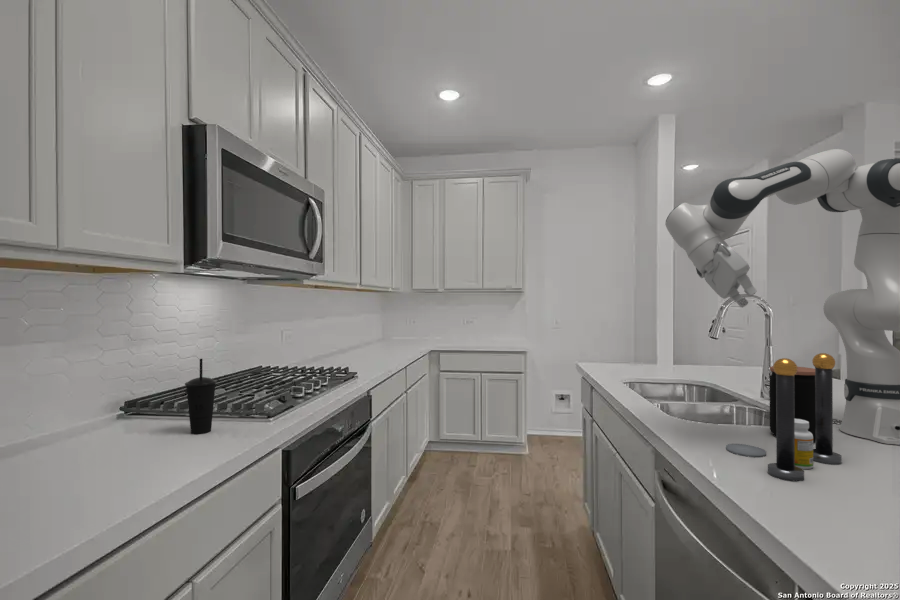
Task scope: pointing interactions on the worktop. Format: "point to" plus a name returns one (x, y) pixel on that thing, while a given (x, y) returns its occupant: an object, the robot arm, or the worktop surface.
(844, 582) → the worktop surface
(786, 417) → the post
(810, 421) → the coffee jar
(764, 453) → the slate mat
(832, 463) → the post
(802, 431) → the supplement bottle
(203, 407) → the drinking cup
